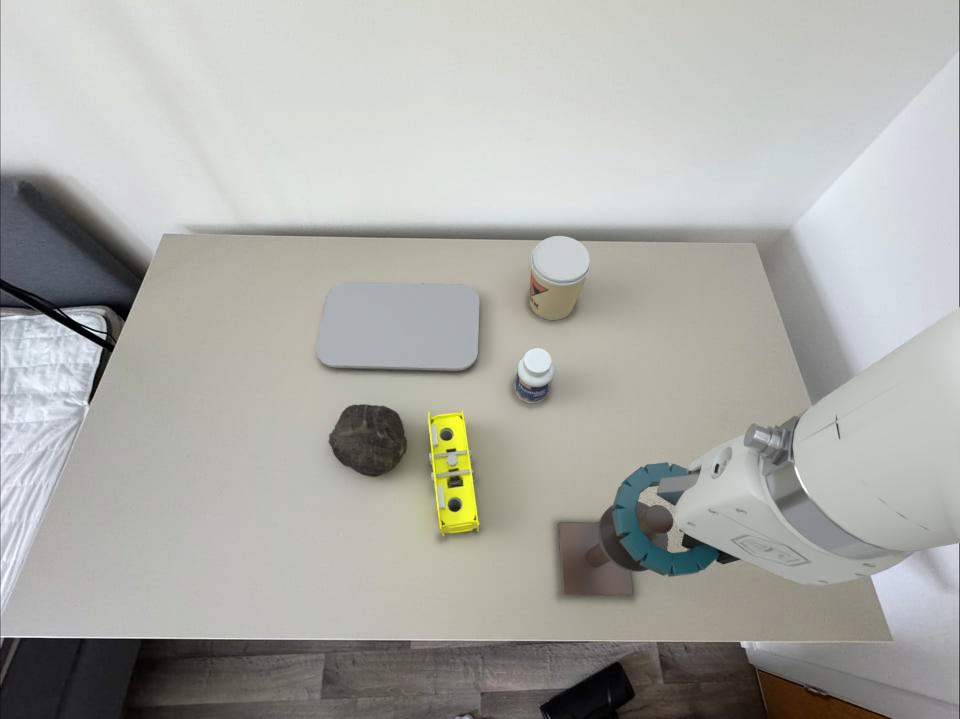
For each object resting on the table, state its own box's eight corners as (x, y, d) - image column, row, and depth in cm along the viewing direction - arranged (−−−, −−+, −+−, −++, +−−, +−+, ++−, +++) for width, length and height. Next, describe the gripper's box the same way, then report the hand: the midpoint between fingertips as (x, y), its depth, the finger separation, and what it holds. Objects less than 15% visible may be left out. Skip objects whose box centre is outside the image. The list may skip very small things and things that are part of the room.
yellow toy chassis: (428, 429, 76) (423, 408, 69) (465, 424, 77) (464, 402, 69) (439, 538, 69) (435, 527, 61) (480, 531, 69) (481, 520, 62)
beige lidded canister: (522, 281, 89) (528, 235, 79) (574, 279, 90) (587, 232, 79) (527, 325, 85) (534, 283, 74) (582, 323, 85) (596, 280, 75)
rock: (334, 412, 76) (325, 391, 67) (408, 414, 78) (409, 394, 69) (327, 479, 73) (316, 467, 64) (405, 480, 74) (406, 468, 65)
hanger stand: (622, 524, 70) (701, 468, 45) (631, 595, 65) (723, 576, 41) (558, 523, 70) (601, 467, 45) (562, 594, 65) (613, 575, 41)
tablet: (477, 375, 81) (477, 369, 79) (316, 371, 81) (312, 364, 79) (480, 293, 88) (480, 285, 86) (333, 289, 89) (330, 281, 87)
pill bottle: (511, 400, 79) (515, 372, 70) (518, 370, 81) (522, 340, 72) (545, 407, 78) (553, 380, 69) (551, 377, 80) (559, 347, 72)
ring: (727, 493, 43) (736, 488, 42) (705, 595, 39) (713, 594, 38) (629, 452, 45) (634, 447, 44) (599, 546, 41) (603, 543, 40)
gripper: (675, 480, 25) (599, 538, 42) (1029, 628, 22) (797, 629, 38) (707, 361, 29) (625, 458, 45) (1020, 476, 25) (810, 535, 42)
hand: (705, 536), depth 41 cm, fingers closed on ring, 2 cm apart
